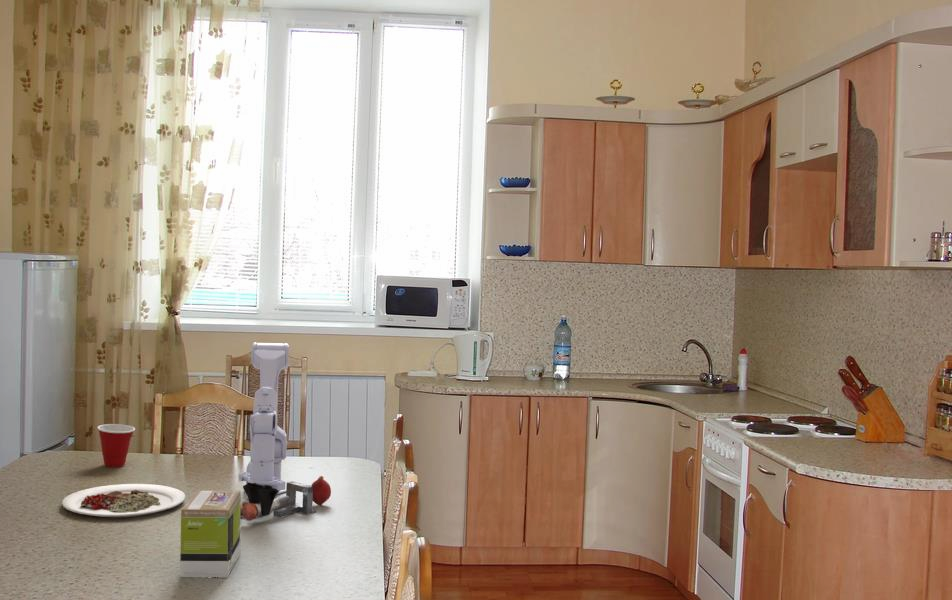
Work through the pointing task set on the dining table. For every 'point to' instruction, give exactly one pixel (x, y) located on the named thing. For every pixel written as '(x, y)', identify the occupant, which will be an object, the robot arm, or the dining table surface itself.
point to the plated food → (123, 500)
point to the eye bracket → (295, 507)
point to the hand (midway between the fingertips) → (260, 513)
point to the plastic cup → (115, 443)
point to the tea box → (210, 534)
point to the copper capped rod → (255, 509)
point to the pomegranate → (321, 491)
